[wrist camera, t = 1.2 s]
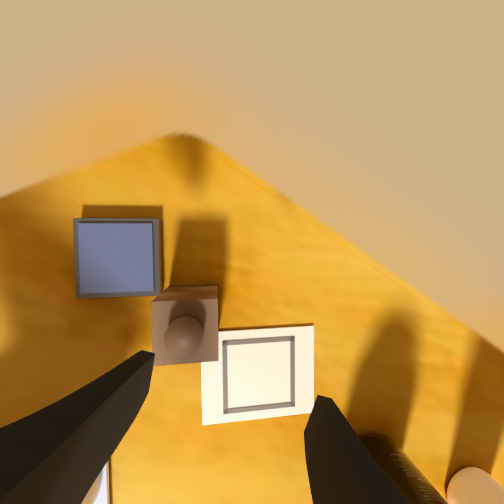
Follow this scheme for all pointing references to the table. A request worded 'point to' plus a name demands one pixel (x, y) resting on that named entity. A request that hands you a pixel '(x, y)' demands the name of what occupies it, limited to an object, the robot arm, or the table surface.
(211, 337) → the stamp
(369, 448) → the supplement bottle
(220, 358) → the form sheet
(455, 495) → the drinking glass
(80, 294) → the ink pad
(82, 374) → the table surface
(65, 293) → the table surface
